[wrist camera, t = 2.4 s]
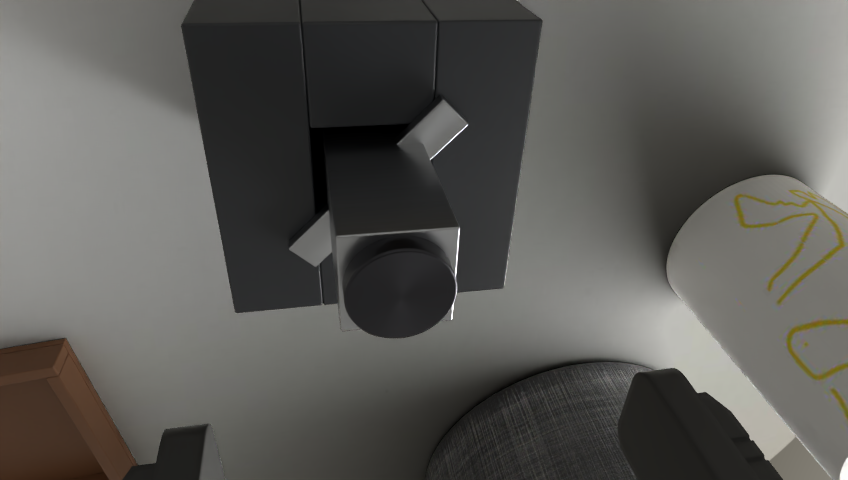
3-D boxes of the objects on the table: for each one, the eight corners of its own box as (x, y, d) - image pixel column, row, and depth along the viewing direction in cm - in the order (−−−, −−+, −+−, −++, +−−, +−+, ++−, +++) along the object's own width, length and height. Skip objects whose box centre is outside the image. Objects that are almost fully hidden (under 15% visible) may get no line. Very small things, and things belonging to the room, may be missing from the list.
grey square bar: (289, 149, 27) (292, 391, 16) (276, 20, 24) (267, 202, 12) (412, 143, 28) (502, 367, 17) (416, 19, 25) (531, 186, 13)
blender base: (253, 145, 32) (235, 314, 21) (225, -58, 27) (180, 23, 15) (432, 136, 34) (504, 288, 23) (441, -56, 29) (543, 19, 17)
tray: (-137, 371, 36) (-162, 403, 34) (66, 337, 37) (53, 366, 35) (-25, 498, 44) (-40, 531, 42) (139, 467, 45) (132, 496, 43)
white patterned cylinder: (830, 155, 41) (1110, 323, 27) (801, 281, 47) (1012, 466, 34) (669, 201, 40) (869, 395, 26) (663, 321, 47) (820, 525, 33)
